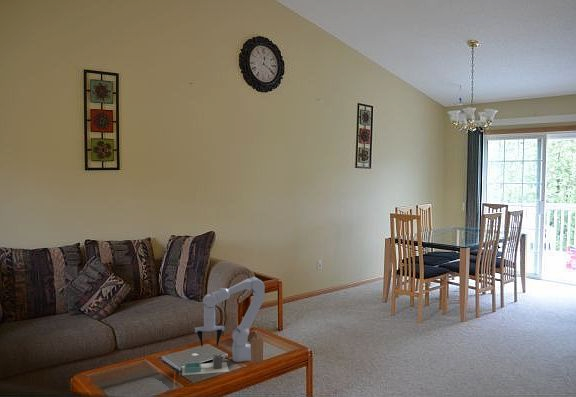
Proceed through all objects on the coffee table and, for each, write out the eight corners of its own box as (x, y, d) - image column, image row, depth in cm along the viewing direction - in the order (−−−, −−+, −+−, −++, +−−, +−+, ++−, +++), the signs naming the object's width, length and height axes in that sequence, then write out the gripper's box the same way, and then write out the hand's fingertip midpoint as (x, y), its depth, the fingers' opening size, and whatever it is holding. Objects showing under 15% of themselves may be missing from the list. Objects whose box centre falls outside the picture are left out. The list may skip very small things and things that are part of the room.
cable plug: (221, 365, 234) (221, 353, 234) (221, 368, 230) (221, 355, 230) (213, 366, 233) (213, 353, 233) (213, 369, 229) (213, 356, 229)
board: (226, 363, 239) (226, 358, 239) (228, 373, 226) (228, 367, 226) (182, 367, 234) (182, 361, 234) (182, 377, 221) (182, 370, 221)
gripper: (223, 315, 243) (223, 341, 243) (194, 317, 240) (194, 343, 240) (224, 319, 236) (224, 346, 236) (195, 321, 233) (195, 348, 233)
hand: (209, 345), depth 237 cm, fingers open, 7 cm apart
